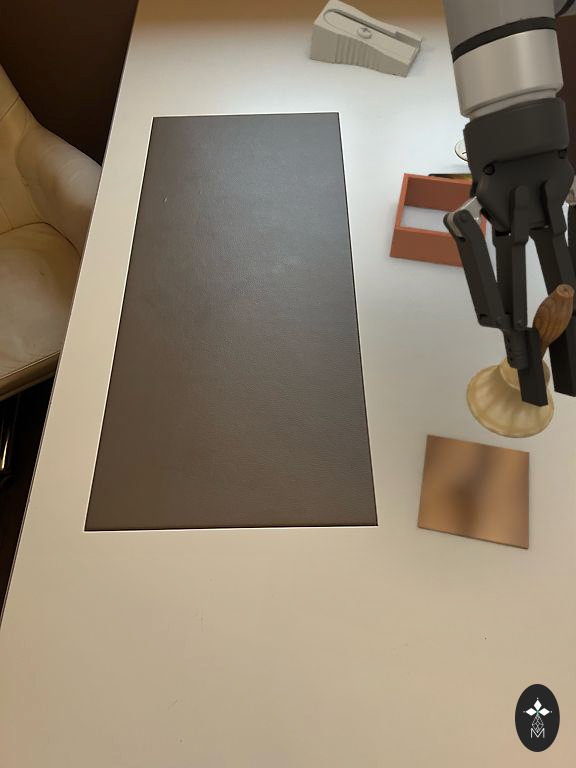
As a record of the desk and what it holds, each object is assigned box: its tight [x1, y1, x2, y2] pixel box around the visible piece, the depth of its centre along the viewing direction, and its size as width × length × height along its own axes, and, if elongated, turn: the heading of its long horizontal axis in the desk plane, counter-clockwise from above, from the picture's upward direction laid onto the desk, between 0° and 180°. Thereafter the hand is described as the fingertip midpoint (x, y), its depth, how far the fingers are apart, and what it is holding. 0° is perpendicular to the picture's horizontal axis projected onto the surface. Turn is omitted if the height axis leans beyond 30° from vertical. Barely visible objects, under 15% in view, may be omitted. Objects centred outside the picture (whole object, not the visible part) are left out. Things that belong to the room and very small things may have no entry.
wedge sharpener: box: [309, 0, 423, 78], centre depth 123 cm, size 11×20×7 cm, turn 69°
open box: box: [389, 172, 487, 268], centre depth 94 cm, size 13×13×6 cm
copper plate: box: [417, 433, 530, 550], centre depth 72 cm, size 12×12×1 cm
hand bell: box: [465, 284, 574, 439], centre depth 54 cm, size 8×8×16 cm
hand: (551, 397), depth 53 cm, fingers closed on hand bell, 2 cm apart
